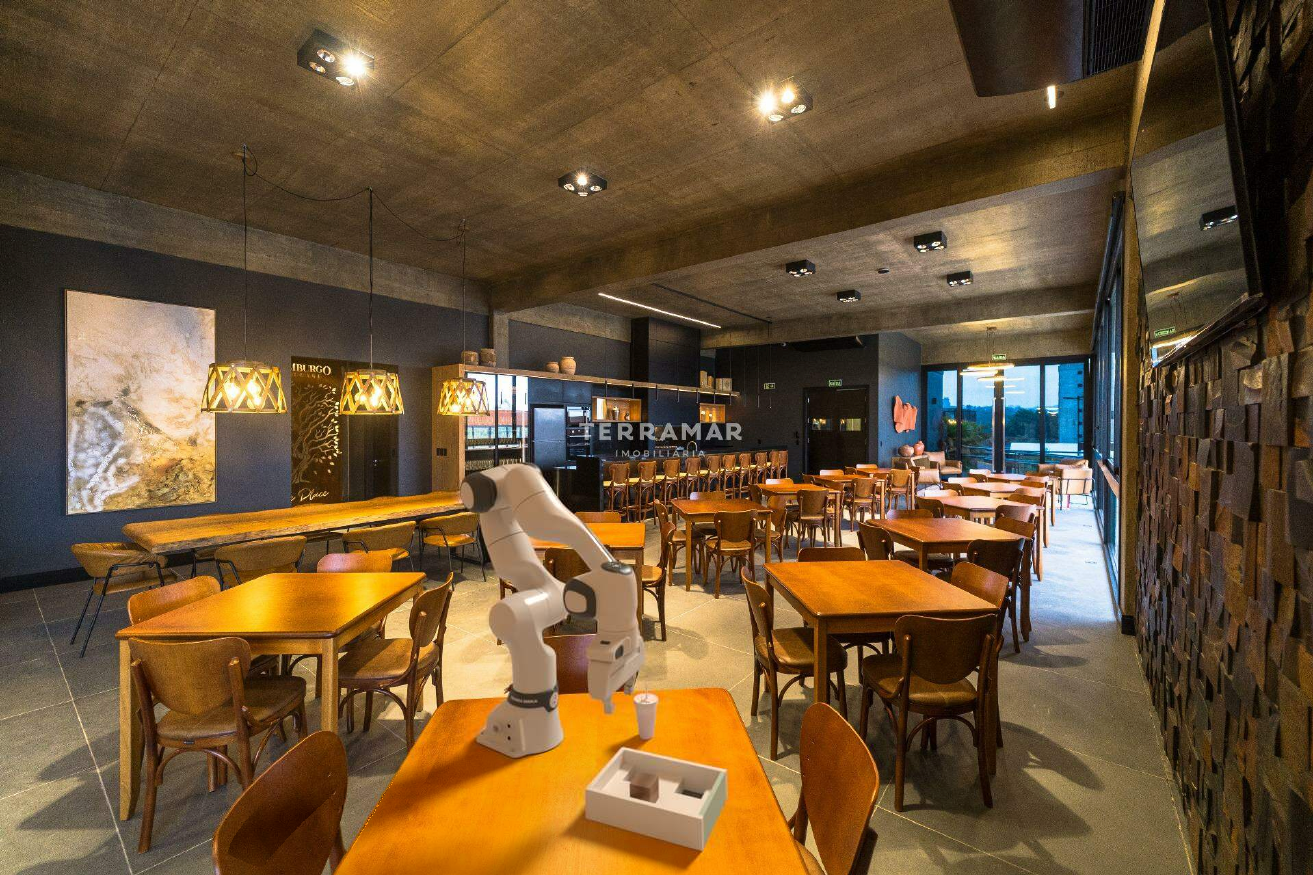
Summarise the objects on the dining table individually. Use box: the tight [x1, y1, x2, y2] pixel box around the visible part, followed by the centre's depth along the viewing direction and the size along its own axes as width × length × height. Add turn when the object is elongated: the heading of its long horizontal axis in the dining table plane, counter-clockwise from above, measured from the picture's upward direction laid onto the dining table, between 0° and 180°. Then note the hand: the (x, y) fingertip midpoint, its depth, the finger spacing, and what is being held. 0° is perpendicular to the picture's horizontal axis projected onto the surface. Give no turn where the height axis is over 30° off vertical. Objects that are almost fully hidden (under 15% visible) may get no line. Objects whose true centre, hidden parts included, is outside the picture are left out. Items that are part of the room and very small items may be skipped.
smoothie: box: [633, 681, 659, 740], centre depth 148 cm, size 6×6×14 cm
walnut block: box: [630, 772, 659, 803], centre depth 117 cm, size 4×4×4 cm
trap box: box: [584, 746, 728, 852], centre depth 119 cm, size 25×17×6 cm
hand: (619, 702), depth 123 cm, fingers open, 8 cm apart
